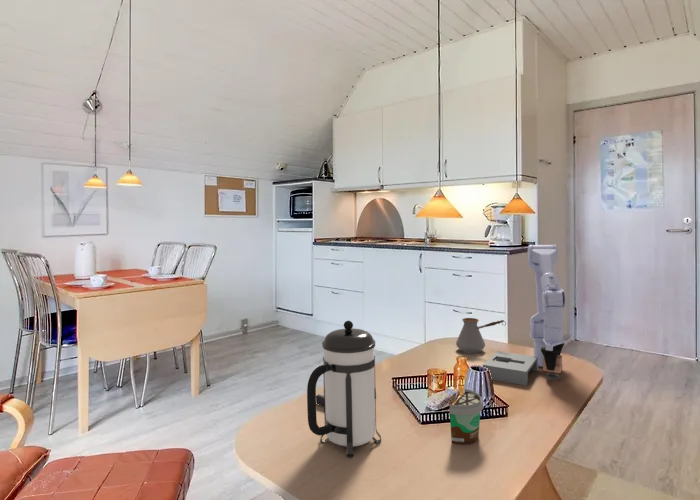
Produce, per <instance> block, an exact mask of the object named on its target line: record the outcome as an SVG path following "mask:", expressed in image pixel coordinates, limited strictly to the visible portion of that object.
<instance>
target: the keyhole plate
mask: <svg viewBox="0 0 700 500" xmlns="http://www.w3.org/2000/svg"><path fill="white" fill-rule="evenodd" d="M483 367H486V368H488V369H489V370H490V373H491V377H492V379H491V381H493V380H494V381H497V382H498V381H499V382H503V383H508V384H515V385H521V386H528V385H529V384H528V383H529V382H528V380H529V377H528V376H529V372H530V371H535V372H537V371H538V370H539V368H538V367H539V366H538V357H535V356H534V355H527V354H521V353H513V352H506V351H499V350H497V351H496V352H494V354H493V355H491V356H490V358H488V359H487V360H486V361H485V362H484V363H483V364H482V368H483Z"/></svg>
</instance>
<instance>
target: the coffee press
mask: <svg viewBox="0 0 700 500" xmlns="http://www.w3.org/2000/svg"><path fill="white" fill-rule="evenodd" d="M343 327H344V328H339V329H335V330H332V331H330V332H329V333H327V334H326V336H325V337H324V340H323V341H322V343H321V346H322V349H323V359H322V361H323V362H322V363H323V364H322V365H319V366H317V367H316V368H314V370H312V372H311V374H310V376H309V378H308V382H307V389H306V390H307V391H306V399H307V400H306V401H307V402H306V403H307V404H306V406H307V423H308V428H309V430H310V431H311V432H312V433H313V434H314V435H316V436H319V437H320V439H319V441H320V443H321V442H322V440H323V439H322V438H323V437H324V436H325V435H326V436H327V438H326V439H325V442H326V443H327V442H328V441H330V442H331V443H333V444H335V445H338V446H340V447H341V446H342V447H346V456H347V458H352V457H353V456H354V447H358V446H362V445H365V444H367V443H369V442H370V441H372V440H373V442H375V443H376V444H381V442H382V436H381V435H380V433H379V432H378V430H377V429H376V426H377V401H376V400H377V390H375V388H376V386H375V370H376V356H375V347H376V340H375V339H374V337H373V335H372V334H371V333H369V332H368V331H366V330H363V329H360V328H353V327H354V323H353V322H352V321H351V320H346V321H344V323H343ZM322 375H323V391H324V407H323V408H324V409H323V411H324V412H323V413H324V414H323V415H324V425H323V426H319V424H318V422H317V421H318V420H317V404H316V396H317V393H316V391H317V389H316V388H317V383H318V380H319V378H320V377H322ZM375 434H376V435H377V436H378V437H379V439H377V438H375V437H374V436H375Z"/></svg>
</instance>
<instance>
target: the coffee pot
mask: <svg viewBox="0 0 700 500" xmlns="http://www.w3.org/2000/svg"><path fill="white" fill-rule="evenodd" d="M462 321H463V325H462V328H461V329H460V333H459V335H458V337H457V339H456V342H455V345H456V347H457V348H458V349H459V350H460V351H461V352H462V353H466V354H479V353H481V352H482V350H483V349H484V348H485V347H486V343H485V341H484V337H483V336H482V333H481V332H480V331H481V330H480V329H484V328H487V327H491V326H495V325H497V324H498V325H500V324H502V326H503V327H505V326H506V324H507V322H506V321H505V320H502V319H501V320H496V321H492V322H489V323H485V324H483V325H480V326H478V322H479V319H478V318H473V317H464V318H462ZM503 323H504V324H503Z"/></svg>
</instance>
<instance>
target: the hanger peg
mask: <svg viewBox="0 0 700 500" xmlns="http://www.w3.org/2000/svg"><path fill="white" fill-rule="evenodd" d="M542 368H543V369H542V370H543V371H544V372H548V373H546V374H545V379H547V380H548V381H553V380H557V381H559V380H560V375H559V374H560V373H561V371H562V370H563V355H562V354H560V355H558V356H557V360H556V365H555V369H554V371H552V370H547V367H546V363H545V358H544V357H543V367H542ZM557 373H558V374H557Z"/></svg>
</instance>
